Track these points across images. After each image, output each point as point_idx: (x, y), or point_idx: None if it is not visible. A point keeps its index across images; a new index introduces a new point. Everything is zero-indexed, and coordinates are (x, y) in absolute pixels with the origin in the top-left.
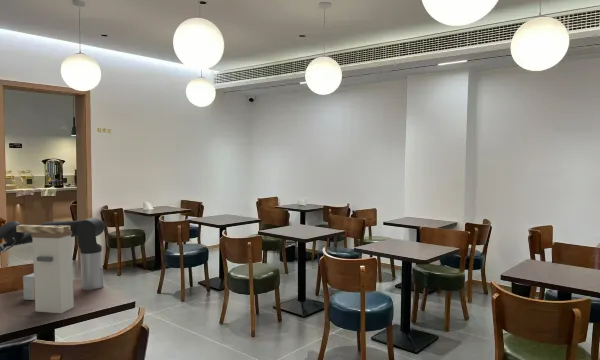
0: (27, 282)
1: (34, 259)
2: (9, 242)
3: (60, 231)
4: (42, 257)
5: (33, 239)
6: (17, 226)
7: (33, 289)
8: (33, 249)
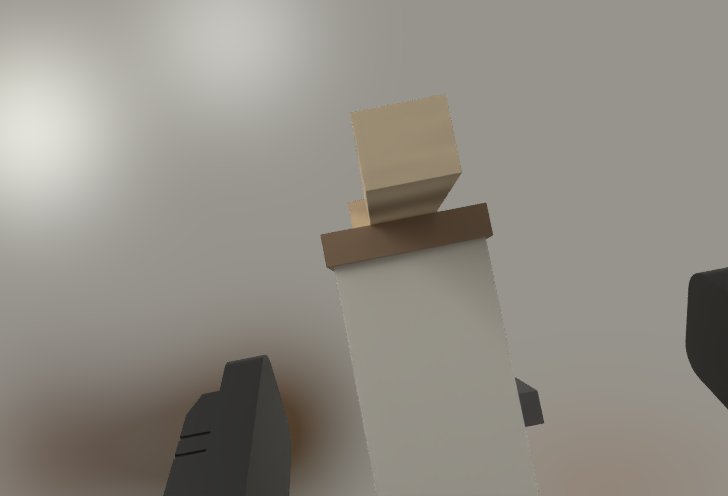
0: None
1: (524, 435)
2: (266, 488)
3: None
4: (524, 383)
5: (487, 257)
6: (445, 105)
7: None
8: (507, 346)
